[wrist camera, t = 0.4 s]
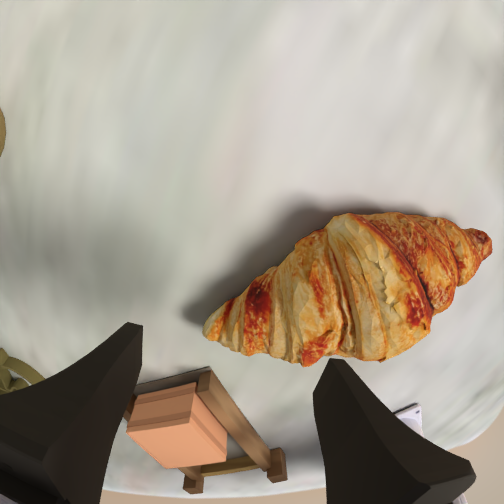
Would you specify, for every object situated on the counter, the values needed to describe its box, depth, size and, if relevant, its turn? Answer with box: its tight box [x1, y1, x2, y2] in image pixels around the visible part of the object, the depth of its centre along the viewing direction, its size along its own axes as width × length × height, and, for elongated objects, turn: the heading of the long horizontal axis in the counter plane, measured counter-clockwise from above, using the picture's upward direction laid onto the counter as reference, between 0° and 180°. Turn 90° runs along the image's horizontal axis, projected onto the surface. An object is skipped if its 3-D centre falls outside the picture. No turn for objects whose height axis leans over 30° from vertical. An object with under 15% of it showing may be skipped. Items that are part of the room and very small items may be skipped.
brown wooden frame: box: [123, 366, 287, 494], centre depth 26 cm, size 15×11×4 cm
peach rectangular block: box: [126, 382, 228, 469], centre depth 24 cm, size 6×6×4 cm
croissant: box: [202, 212, 492, 367], centre depth 19 cm, size 21×10×8 cm, turn 110°
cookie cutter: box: [0, 348, 45, 395], centre depth 27 cm, size 18×12×2 cm, turn 26°
